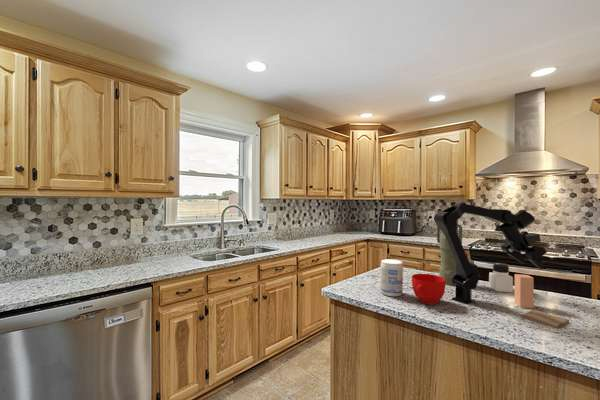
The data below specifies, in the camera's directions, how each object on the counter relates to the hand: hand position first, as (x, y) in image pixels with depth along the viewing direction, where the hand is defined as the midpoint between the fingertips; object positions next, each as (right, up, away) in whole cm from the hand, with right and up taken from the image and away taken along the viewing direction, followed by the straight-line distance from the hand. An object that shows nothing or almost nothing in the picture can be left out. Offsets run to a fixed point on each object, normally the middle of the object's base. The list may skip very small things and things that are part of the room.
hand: (533, 266), depth 119 cm
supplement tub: (-58, -15, +8) cm, 60 cm away
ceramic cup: (-47, -15, -3) cm, 49 cm away
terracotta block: (-9, -15, -6) cm, 18 cm away
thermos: (-23, -14, +24) cm, 36 cm away
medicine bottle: (-4, -15, +14) cm, 20 cm away
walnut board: (-12, -15, -19) cm, 27 cm away
